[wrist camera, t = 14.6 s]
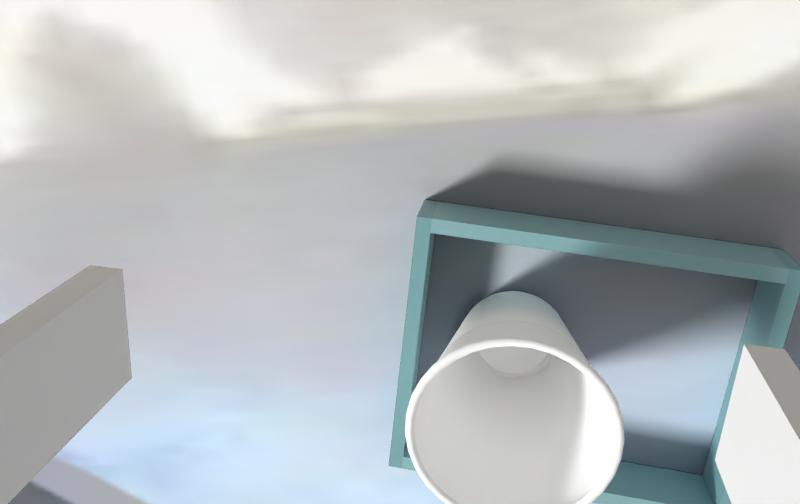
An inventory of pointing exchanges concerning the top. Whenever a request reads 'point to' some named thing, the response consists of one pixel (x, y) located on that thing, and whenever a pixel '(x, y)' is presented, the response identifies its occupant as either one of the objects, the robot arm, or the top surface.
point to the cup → (514, 412)
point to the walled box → (773, 268)
